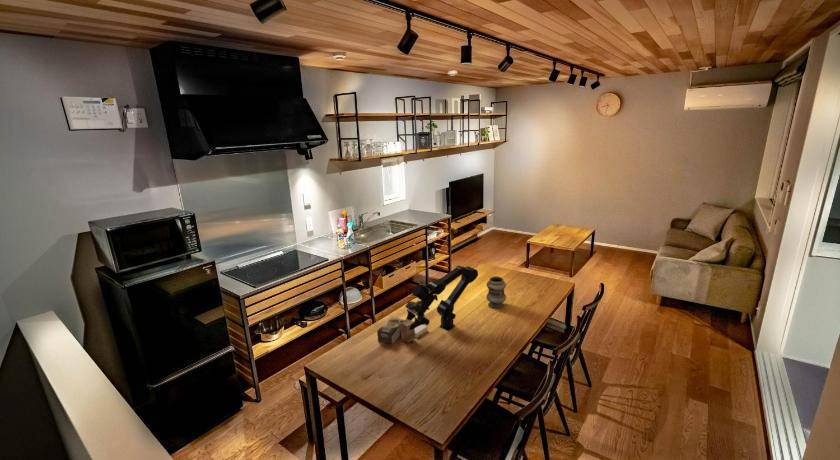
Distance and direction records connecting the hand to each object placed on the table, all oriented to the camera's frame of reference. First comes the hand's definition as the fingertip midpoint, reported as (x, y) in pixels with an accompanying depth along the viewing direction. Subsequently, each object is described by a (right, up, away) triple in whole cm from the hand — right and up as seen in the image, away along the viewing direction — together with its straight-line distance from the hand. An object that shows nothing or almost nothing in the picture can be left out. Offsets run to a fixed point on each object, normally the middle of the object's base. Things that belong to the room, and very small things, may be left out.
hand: (407, 327), depth 204 cm
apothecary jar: (+54, +4, +35) cm, 65 cm away
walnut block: (0, -7, +2) cm, 7 cm away
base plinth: (+4, -5, +11) cm, 13 cm away
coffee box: (-6, -1, +14) cm, 16 cm away
